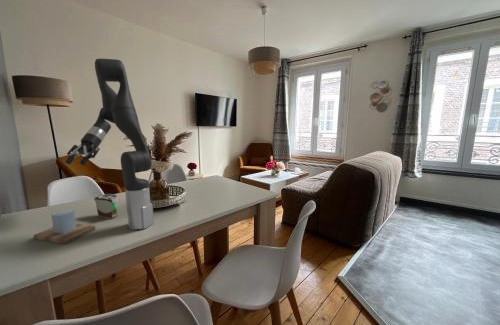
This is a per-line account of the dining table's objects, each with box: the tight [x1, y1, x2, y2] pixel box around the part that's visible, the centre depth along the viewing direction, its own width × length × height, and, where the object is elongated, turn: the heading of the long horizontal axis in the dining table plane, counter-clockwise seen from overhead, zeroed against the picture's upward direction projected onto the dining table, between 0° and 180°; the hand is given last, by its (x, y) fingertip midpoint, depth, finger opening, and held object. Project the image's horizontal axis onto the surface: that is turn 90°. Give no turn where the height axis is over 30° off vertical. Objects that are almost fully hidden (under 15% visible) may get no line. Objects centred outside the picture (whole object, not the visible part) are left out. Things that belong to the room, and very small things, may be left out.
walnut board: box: [33, 223, 96, 245], centre depth 90 cm, size 16×12×2 cm
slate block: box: [51, 209, 77, 234], centre depth 89 cm, size 5×5×8 cm
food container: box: [93, 193, 119, 220], centre depth 108 cm, size 12×6×10 cm, turn 71°
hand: (74, 163), depth 101 cm, fingers open, 8 cm apart
